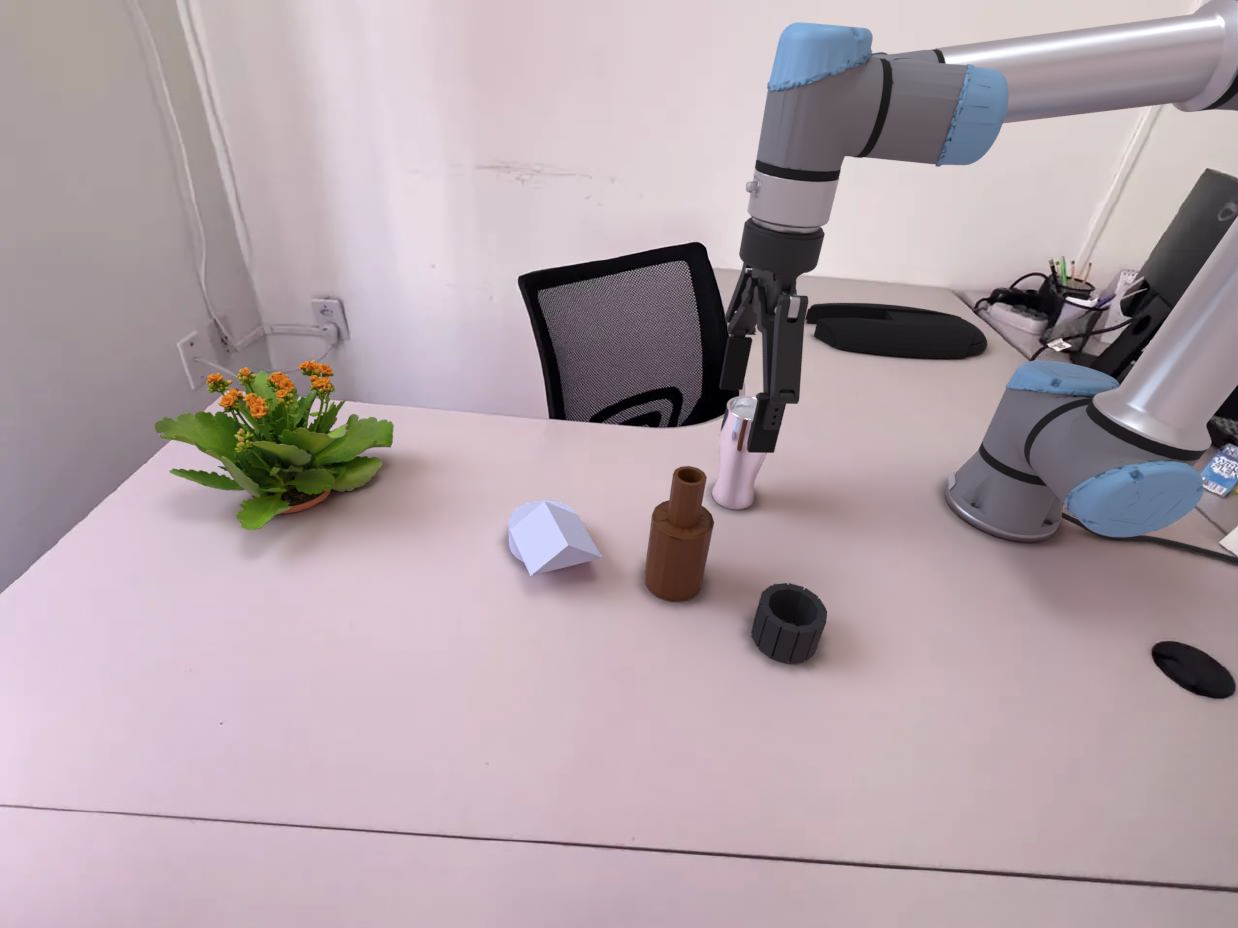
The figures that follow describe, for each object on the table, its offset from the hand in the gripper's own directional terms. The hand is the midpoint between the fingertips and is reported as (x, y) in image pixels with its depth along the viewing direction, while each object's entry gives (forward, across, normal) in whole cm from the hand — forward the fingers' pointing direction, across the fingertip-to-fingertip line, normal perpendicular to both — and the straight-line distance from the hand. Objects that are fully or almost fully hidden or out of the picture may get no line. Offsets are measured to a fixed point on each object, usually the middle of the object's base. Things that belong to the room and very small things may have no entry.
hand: (744, 417), depth 73 cm
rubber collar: (+20, +14, +5) cm, 25 cm away
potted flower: (+21, -12, -57) cm, 62 cm away
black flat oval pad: (+21, -73, +58) cm, 96 cm away
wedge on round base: (+21, 0, -22) cm, 30 cm away
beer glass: (+21, -12, +5) cm, 24 cm away
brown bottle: (+21, +5, -6) cm, 22 cm away
